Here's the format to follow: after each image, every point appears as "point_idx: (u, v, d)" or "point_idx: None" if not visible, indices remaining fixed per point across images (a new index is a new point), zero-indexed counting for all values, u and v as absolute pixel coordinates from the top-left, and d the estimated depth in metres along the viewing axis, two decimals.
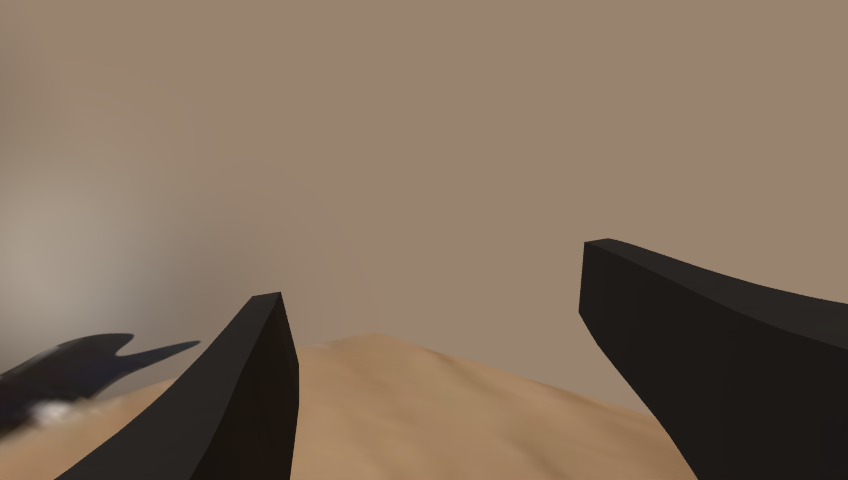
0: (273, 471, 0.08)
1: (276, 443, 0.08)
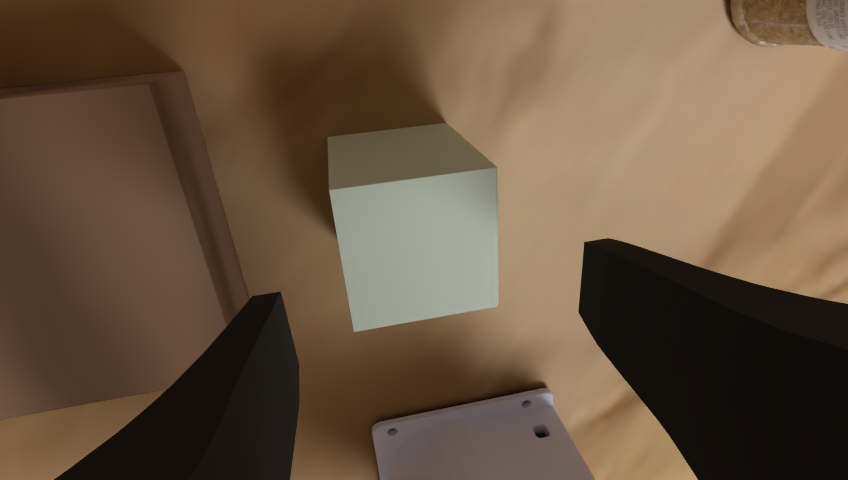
0: (273, 471, 0.08)
1: (276, 443, 0.08)
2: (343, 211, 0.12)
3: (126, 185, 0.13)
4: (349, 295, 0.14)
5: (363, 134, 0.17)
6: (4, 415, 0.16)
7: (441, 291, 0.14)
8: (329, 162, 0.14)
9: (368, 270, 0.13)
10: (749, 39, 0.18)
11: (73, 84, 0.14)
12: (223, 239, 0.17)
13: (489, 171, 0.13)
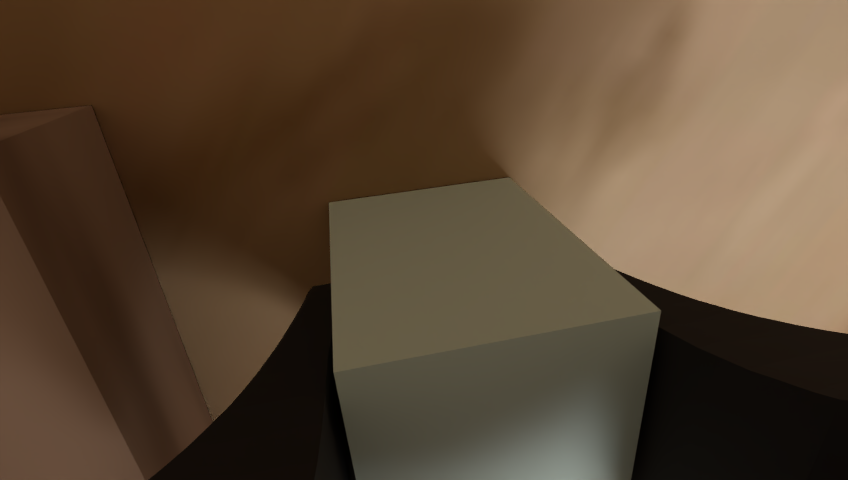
0: (348, 455, 0.08)
1: None
2: (361, 405, 0.06)
3: None
4: None
5: (384, 199, 0.11)
6: None
7: None
8: (332, 272, 0.08)
9: None
10: None
11: None
12: (167, 363, 0.11)
13: (645, 318, 0.07)
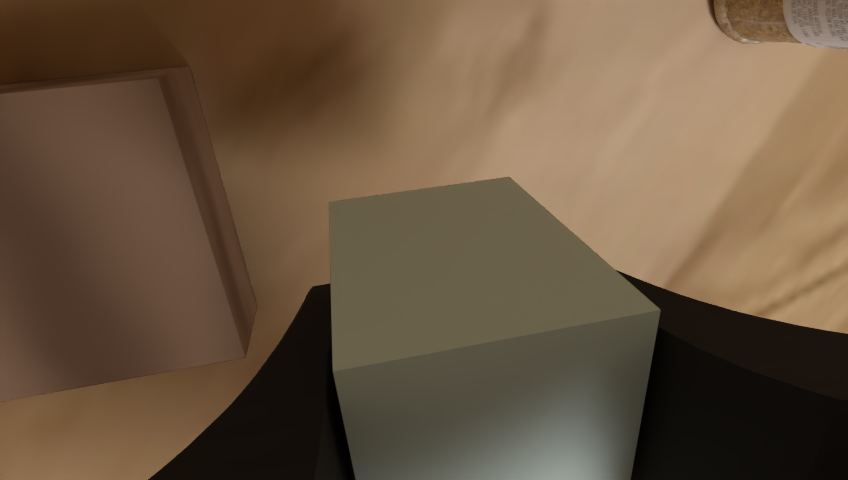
0: (348, 455, 0.08)
1: None
2: (361, 406, 0.06)
3: (137, 174, 0.14)
4: None
5: (384, 198, 0.11)
6: (19, 395, 0.17)
7: None
8: (332, 271, 0.08)
9: None
10: (732, 36, 0.19)
11: (85, 78, 0.15)
12: (227, 228, 0.18)
13: (645, 317, 0.07)
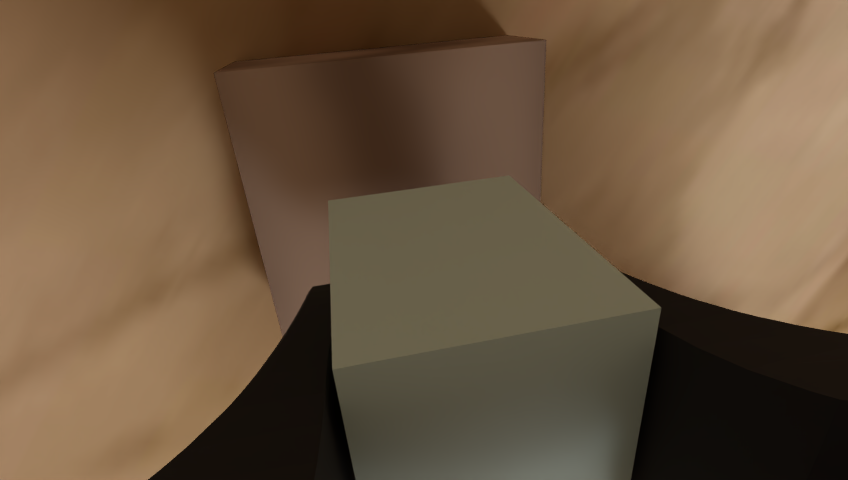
0: (348, 455, 0.08)
1: None
2: (360, 403, 0.06)
3: (503, 128, 0.16)
4: None
5: (384, 197, 0.11)
6: None
7: None
8: (331, 270, 0.08)
9: None
10: None
11: (441, 44, 0.16)
12: None
13: (645, 315, 0.06)
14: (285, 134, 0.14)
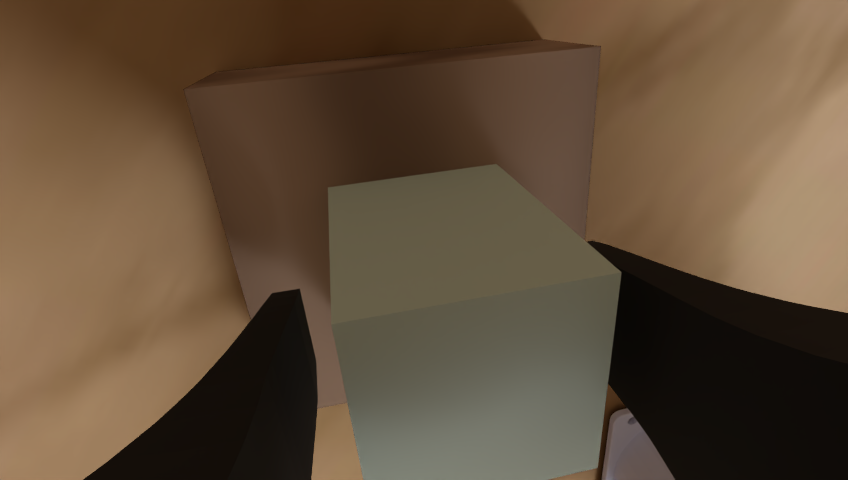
0: (297, 466, 0.08)
1: (299, 438, 0.08)
2: (356, 355, 0.07)
3: (543, 155, 0.13)
4: (365, 474, 0.08)
5: (380, 184, 0.12)
6: None
7: (512, 456, 0.09)
8: (330, 245, 0.09)
9: (396, 437, 0.08)
10: None
11: (466, 50, 0.14)
12: None
13: (607, 279, 0.07)
14: (275, 164, 0.12)
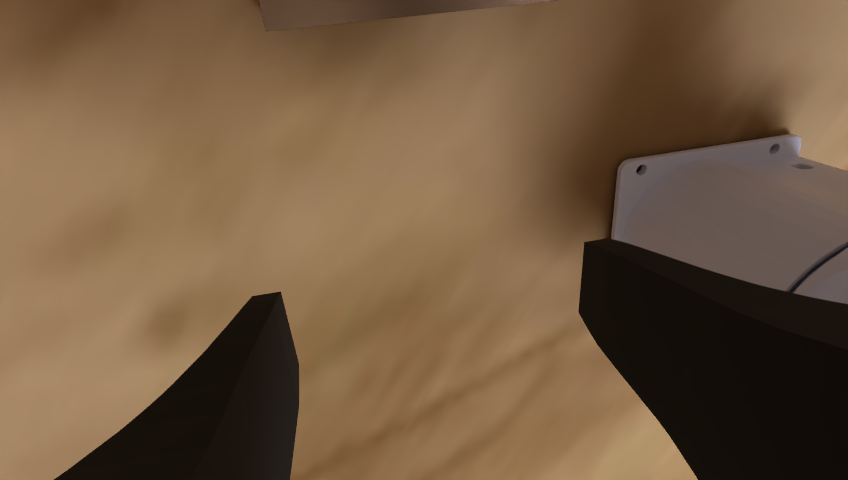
0: (273, 471, 0.08)
1: (276, 443, 0.08)
2: None
3: None
4: None
5: None
6: (343, 17, 0.14)
7: None
8: None
9: None
10: None
11: None
12: None
13: None
14: None
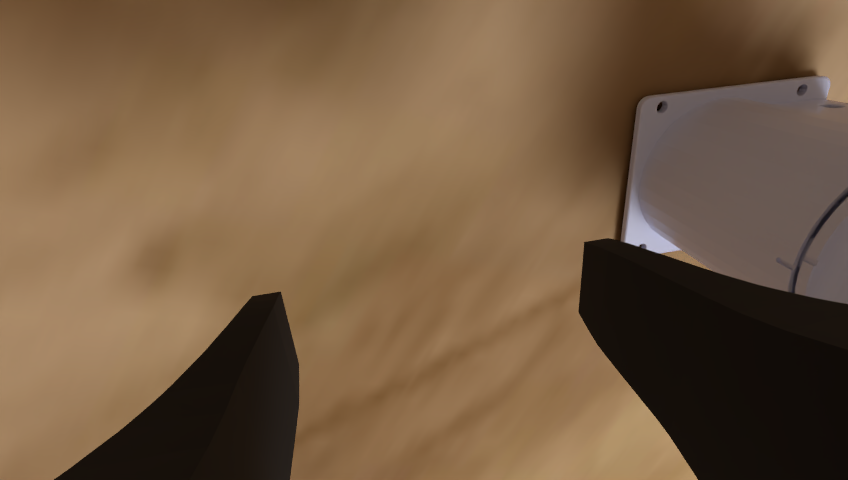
0: (273, 471, 0.08)
1: (276, 443, 0.08)
2: None
3: None
4: None
5: None
6: None
7: None
8: None
9: None
10: None
11: None
12: None
13: None
14: None
